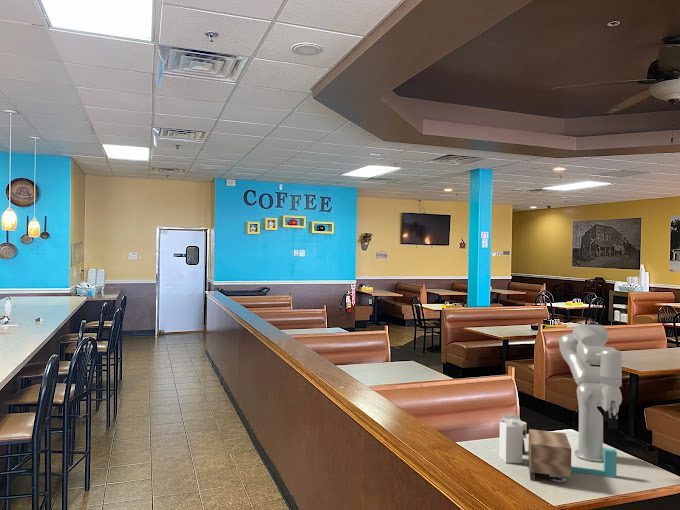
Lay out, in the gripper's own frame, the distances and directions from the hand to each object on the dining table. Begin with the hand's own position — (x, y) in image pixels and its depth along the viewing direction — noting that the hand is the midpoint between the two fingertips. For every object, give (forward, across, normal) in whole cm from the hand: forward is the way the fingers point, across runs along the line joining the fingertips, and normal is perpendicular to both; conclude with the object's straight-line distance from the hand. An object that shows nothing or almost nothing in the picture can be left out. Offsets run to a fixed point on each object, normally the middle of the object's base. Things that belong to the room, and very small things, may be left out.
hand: (610, 425), depth 203 cm
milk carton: (+20, -3, -37) cm, 42 cm away
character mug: (+20, -15, -34) cm, 42 cm away
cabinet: (+20, +8, -23) cm, 31 cm away
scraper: (+20, 0, -7) cm, 21 cm away
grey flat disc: (+20, +12, -20) cm, 31 cm away
